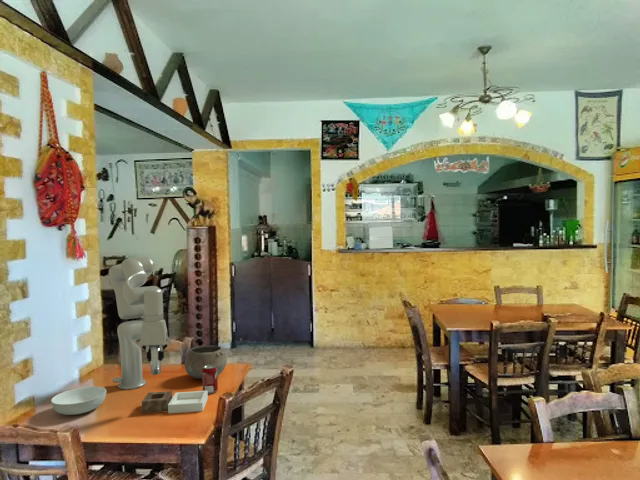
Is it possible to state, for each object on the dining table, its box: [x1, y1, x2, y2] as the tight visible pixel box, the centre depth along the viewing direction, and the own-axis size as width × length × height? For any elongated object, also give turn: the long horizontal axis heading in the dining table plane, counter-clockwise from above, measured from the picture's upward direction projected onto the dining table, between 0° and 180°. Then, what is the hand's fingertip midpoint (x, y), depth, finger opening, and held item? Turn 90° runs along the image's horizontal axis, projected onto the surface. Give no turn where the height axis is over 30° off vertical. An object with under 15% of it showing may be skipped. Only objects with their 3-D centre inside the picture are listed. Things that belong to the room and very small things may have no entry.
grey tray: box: [167, 390, 209, 414], centre depth 192 cm, size 14×14×4 cm
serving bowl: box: [50, 386, 107, 416], centre depth 191 cm, size 21×21×7 cm
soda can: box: [201, 365, 219, 395], centre depth 208 cm, size 7×7×12 cm
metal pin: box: [150, 345, 162, 376], centre depth 191 cm, size 4×4×13 cm
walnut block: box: [141, 390, 173, 414], centre depth 191 cm, size 10×10×5 cm
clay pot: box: [184, 345, 228, 380], centre depth 228 cm, size 21×21×15 cm
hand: (155, 359), depth 191 cm, fingers closed on metal pin, 4 cm apart
